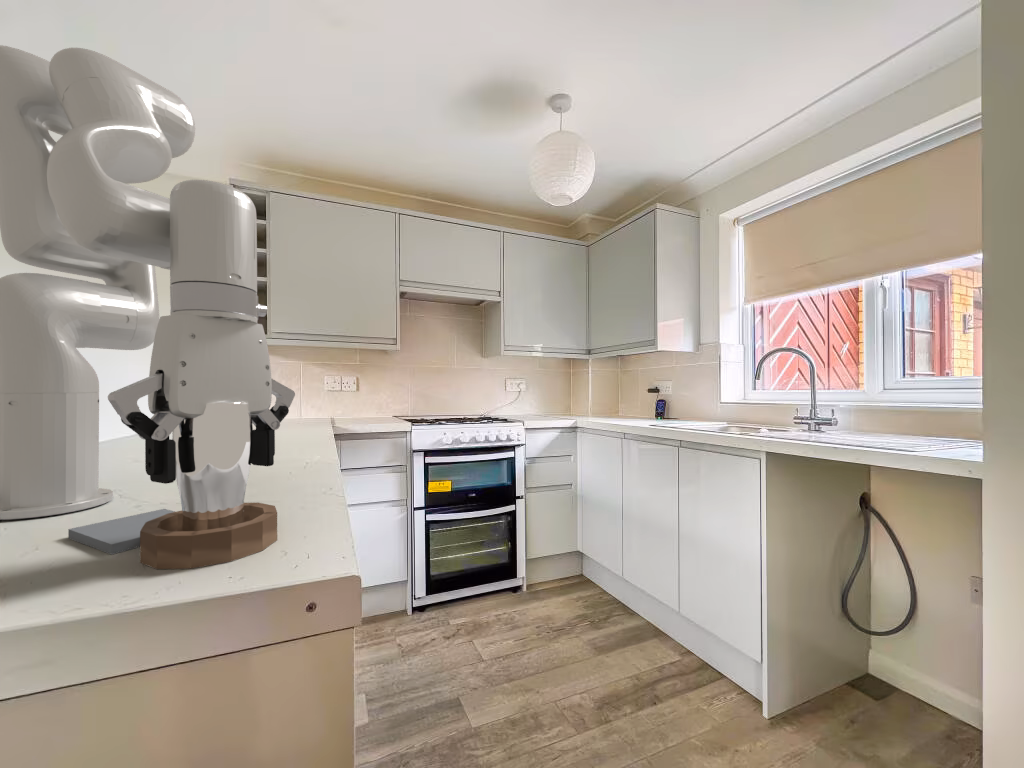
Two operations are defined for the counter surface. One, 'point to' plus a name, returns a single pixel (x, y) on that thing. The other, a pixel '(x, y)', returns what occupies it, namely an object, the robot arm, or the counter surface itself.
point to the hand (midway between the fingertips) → (217, 472)
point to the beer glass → (214, 465)
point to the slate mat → (115, 532)
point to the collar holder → (206, 539)
